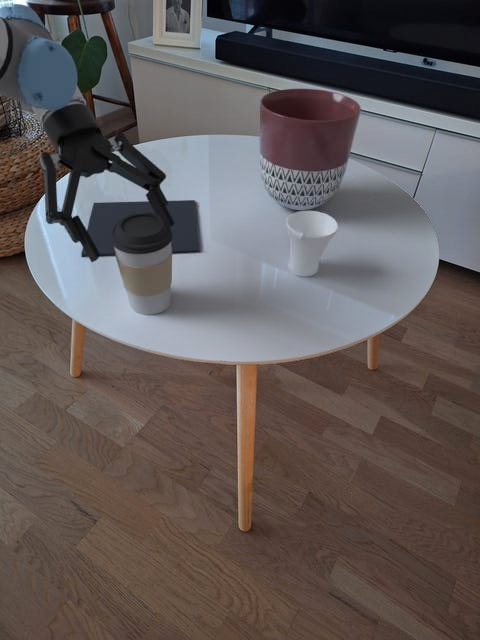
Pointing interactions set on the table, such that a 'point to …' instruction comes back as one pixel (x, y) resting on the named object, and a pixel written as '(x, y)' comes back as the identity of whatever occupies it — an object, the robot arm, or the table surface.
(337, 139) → the planter
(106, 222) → the mat
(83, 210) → the table surface
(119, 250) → the coffee cup
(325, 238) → the cup
